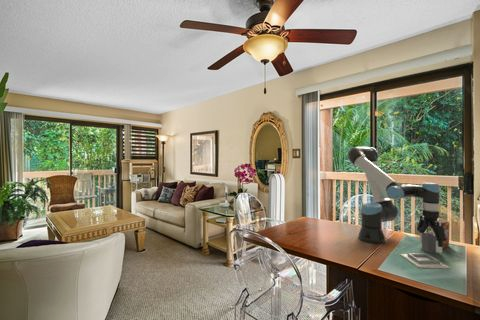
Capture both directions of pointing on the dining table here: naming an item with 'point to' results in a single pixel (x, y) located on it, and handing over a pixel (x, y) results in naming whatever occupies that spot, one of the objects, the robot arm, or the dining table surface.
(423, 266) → the end holder
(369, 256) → the dining table surface
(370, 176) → the robot arm
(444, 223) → the candy box
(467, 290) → the dining table surface
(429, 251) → the block
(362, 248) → the dining table surface
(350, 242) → the dining table surface
